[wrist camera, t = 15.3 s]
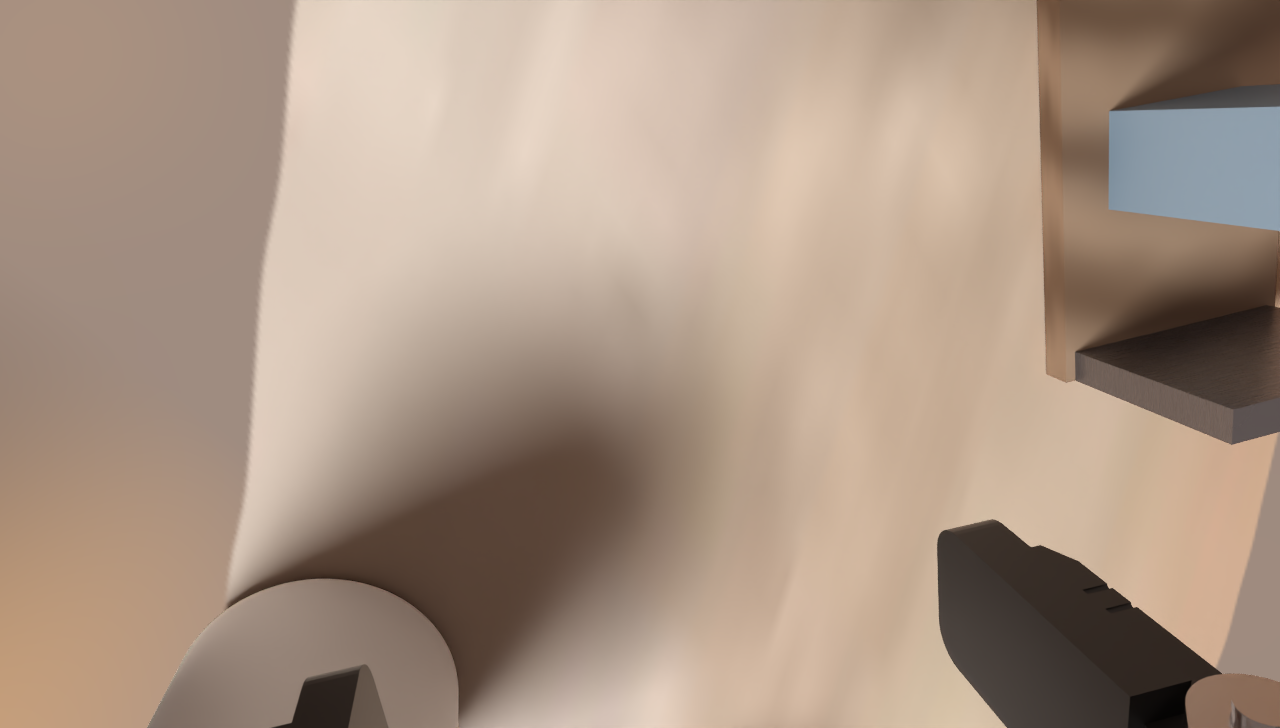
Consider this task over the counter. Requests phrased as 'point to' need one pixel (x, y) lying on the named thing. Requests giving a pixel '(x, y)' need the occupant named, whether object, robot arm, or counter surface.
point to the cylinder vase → (311, 658)
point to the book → (1200, 157)
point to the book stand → (1079, 169)
